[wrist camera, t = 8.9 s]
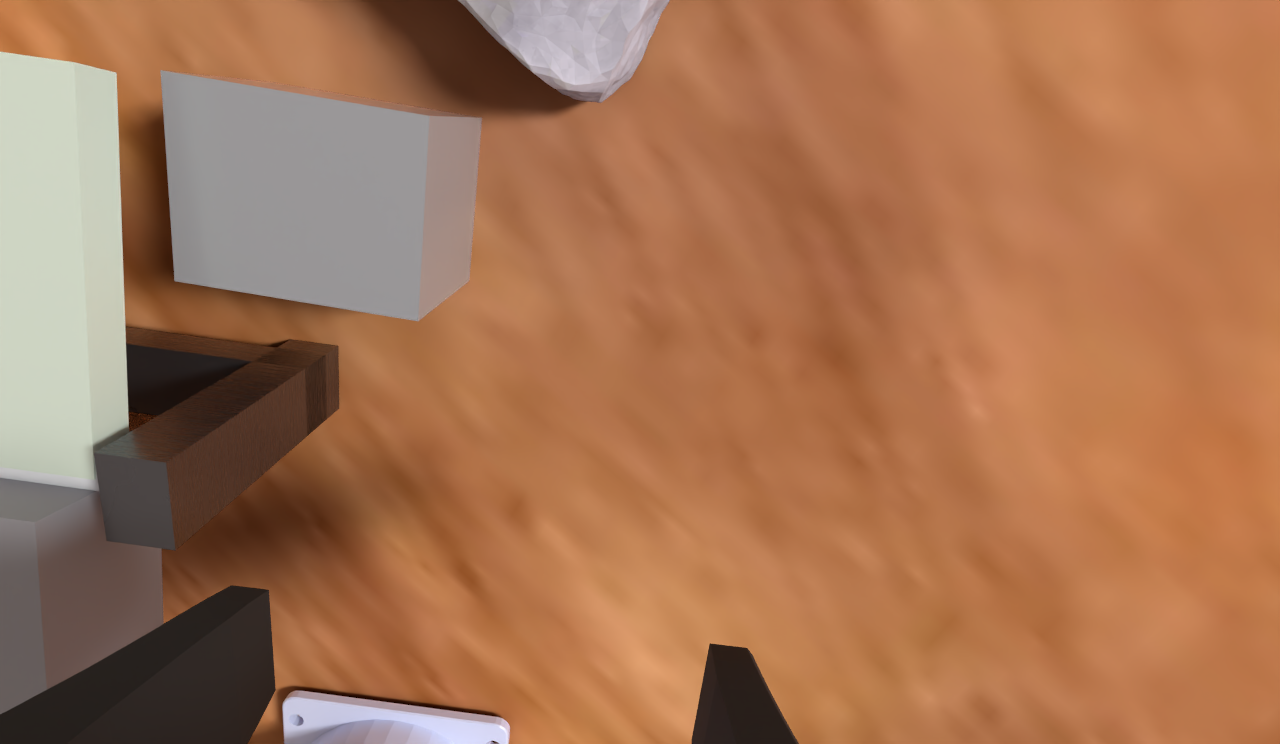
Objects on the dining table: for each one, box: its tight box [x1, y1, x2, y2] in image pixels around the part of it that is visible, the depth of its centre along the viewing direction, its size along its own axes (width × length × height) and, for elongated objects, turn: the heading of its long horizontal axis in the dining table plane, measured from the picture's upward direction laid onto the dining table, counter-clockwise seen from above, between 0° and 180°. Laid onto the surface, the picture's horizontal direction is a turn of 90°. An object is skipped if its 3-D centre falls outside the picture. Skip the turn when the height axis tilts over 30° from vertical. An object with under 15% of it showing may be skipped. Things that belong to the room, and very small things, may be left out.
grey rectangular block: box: [161, 70, 482, 321], centre depth 17 cm, size 4×4×6 cm
